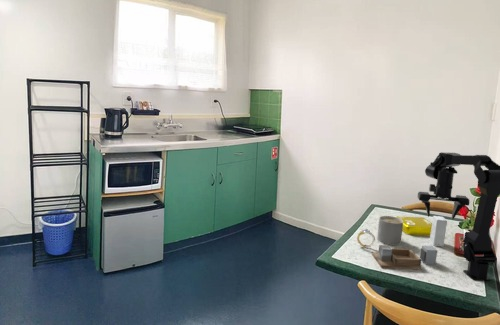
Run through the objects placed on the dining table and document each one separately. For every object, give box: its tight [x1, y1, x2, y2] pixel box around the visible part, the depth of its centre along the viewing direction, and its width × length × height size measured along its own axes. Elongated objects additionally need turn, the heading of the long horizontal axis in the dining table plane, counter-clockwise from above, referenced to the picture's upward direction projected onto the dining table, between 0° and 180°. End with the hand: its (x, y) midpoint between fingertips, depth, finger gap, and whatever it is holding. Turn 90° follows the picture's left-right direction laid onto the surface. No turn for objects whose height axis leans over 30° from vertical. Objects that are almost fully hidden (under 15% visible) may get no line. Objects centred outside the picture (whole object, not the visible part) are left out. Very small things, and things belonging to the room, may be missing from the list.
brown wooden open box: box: [371, 244, 423, 270], centre depth 137 cm, size 11×15×6 cm
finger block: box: [419, 245, 438, 266], centre depth 138 cm, size 4×4×6 cm
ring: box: [356, 228, 376, 248], centre depth 150 cm, size 7×3×8 cm, turn 62°
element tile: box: [396, 215, 432, 237], centre depth 173 cm, size 15×15×5 cm
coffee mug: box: [376, 215, 403, 246], centre depth 159 cm, size 13×10×10 cm
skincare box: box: [429, 215, 448, 248], centre depth 156 cm, size 6×4×12 cm
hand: (440, 217), depth 150 cm, fingers open, 9 cm apart
